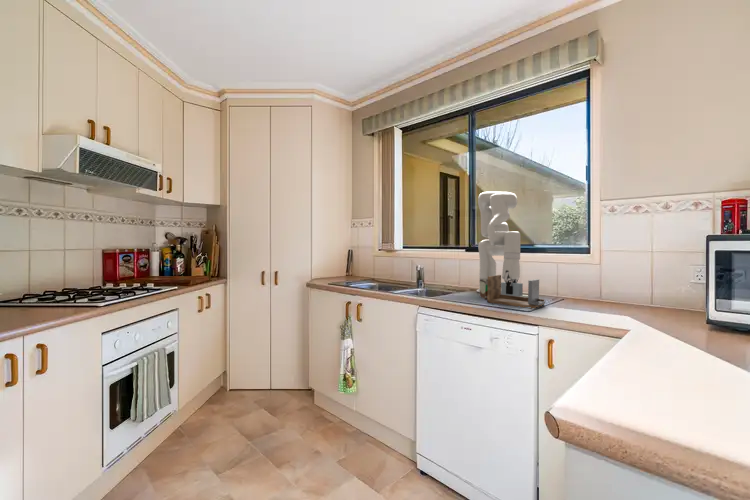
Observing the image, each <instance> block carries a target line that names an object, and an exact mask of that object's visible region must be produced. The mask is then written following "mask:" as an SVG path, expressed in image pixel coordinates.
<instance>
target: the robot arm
mask: <svg viewBox="0 0 750 500" xmlns="http://www.w3.org/2000/svg"><path fill="white" fill-rule="evenodd" d="M477 204H478V208H479V211H480V234H481V236H482V237H484V238H488V239H482V240H481V241H479V243H478V246H477V247H478V256H479V257H478V258H479V281H480V278H482V279H488V276H495V275H497V262H496V259H495V258H494V256H499V257H501V256H503V261H502V262H503V263H502V274H501V279H502V280H503V282H505V283H506V294H513V286H512V283H519V279H520V276H521V275H520V274H521V268H520V267H521V266H520V265H521V264H520V263H521V262H520V261H521V233H520V232H519V231H513V230H512V231H510V229H509V228H510V227H509V225H508V223H507V222H506V221H509V219H510V217H511V216H510V214H511V213H510V212H509V209H515V208H516V207H517V206H518V197H517V195H516V193H513V192H509V191H483V192H481V193H480V194H479V195H478V198H477ZM478 284H479V285H478V287H479V288H478V289H476V292H477V293H480V282H479V283H478Z"/></svg>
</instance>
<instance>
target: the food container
mask: <svg viewBox="0 0 750 500" xmlns="http://www.w3.org/2000/svg"><path fill="white" fill-rule="evenodd" d="M479 278H480V277H479ZM479 282H480V292H479V297H480V298H481V299H483V300H487V294H488V279H482V278H480V281H479Z"/></svg>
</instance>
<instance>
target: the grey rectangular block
mask: <svg viewBox="0 0 750 500" xmlns="http://www.w3.org/2000/svg"><path fill="white" fill-rule="evenodd" d="M523 285H524V284H523V283H521V282H517V283H512V286H513V294H506V283H505V281H501V295H510V296H520V297H524V296H523V292H524V290H523Z"/></svg>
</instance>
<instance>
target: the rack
mask: <svg viewBox="0 0 750 500" xmlns="http://www.w3.org/2000/svg"><path fill="white" fill-rule="evenodd" d="M501 282H502V274H496V275H495V276H488V294H487V299H486V301H487V303H488V304H489V303H491V304H498V305H505V306H512V307H518V306H520V307H519V308H525V307H531V308H530V309H532V308H535V309H537V308H536V307H538V308H540V307H539V306H542V305H544V306H545V303H544V304H541V305H531V304H528V296H510V295H501ZM539 301H545V299H544V298H539ZM542 307H543V306H542Z"/></svg>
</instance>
